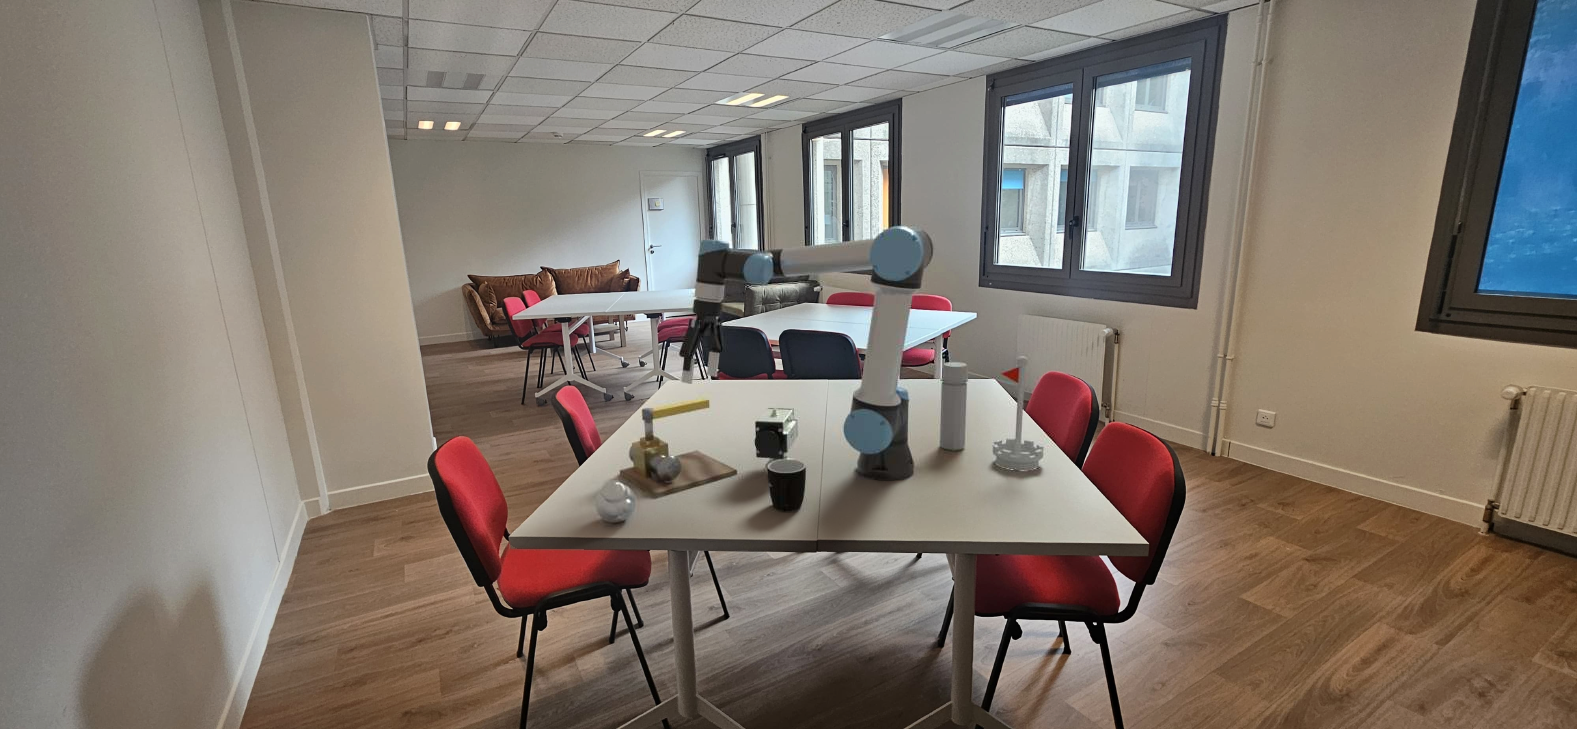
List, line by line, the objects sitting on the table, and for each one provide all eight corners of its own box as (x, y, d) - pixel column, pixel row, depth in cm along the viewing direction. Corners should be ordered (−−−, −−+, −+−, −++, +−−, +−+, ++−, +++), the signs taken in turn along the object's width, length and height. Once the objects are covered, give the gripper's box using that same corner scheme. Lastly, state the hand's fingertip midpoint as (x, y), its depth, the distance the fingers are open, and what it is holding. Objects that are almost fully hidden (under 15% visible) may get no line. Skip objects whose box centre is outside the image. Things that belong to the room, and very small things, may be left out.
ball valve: (787, 486, 168) (785, 419, 165) (754, 484, 170) (752, 418, 167) (801, 462, 186) (799, 400, 182) (771, 460, 187) (769, 399, 184)
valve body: (658, 486, 167) (655, 432, 164) (628, 468, 180) (625, 418, 177) (682, 479, 171) (679, 427, 168) (652, 462, 184) (649, 413, 182)
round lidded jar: (589, 529, 146) (585, 487, 144) (606, 511, 156) (602, 471, 154) (628, 531, 145) (624, 488, 143) (643, 513, 154) (640, 472, 152)
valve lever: (645, 421, 172) (645, 411, 172) (640, 418, 174) (639, 409, 174) (709, 407, 184) (709, 398, 183) (704, 405, 186) (703, 396, 186)
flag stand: (1044, 459, 184) (1050, 353, 178) (1040, 475, 172) (1047, 362, 166) (995, 453, 189) (1000, 350, 183) (988, 469, 177) (993, 359, 171)
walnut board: (656, 497, 163) (655, 493, 163) (620, 474, 179) (619, 470, 179) (737, 474, 178) (736, 469, 177) (697, 454, 194) (696, 450, 193)
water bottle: (967, 452, 191) (970, 367, 186) (939, 451, 192) (941, 366, 187) (964, 441, 200) (967, 360, 195) (937, 441, 201) (939, 360, 196)
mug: (771, 498, 161) (770, 458, 159) (808, 499, 160) (807, 459, 158) (763, 519, 150) (762, 477, 148) (803, 520, 149) (802, 478, 147)
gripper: (718, 296, 185) (709, 370, 189) (670, 298, 162) (662, 383, 166) (742, 300, 182) (733, 375, 186) (697, 303, 159) (688, 389, 163)
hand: (699, 379), depth 176 cm, fingers open, 13 cm apart
